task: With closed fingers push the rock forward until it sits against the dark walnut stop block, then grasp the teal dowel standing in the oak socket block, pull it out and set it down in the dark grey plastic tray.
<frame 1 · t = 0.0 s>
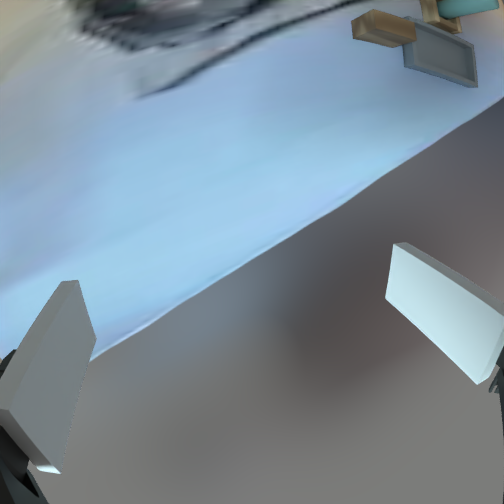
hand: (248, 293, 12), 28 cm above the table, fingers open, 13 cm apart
socket block: (435, 12, 33), on the table
tray: (437, 54, 36), on the table
stop block: (372, 34, 34), on the table
dowel: (461, 5, 27), in the socket block
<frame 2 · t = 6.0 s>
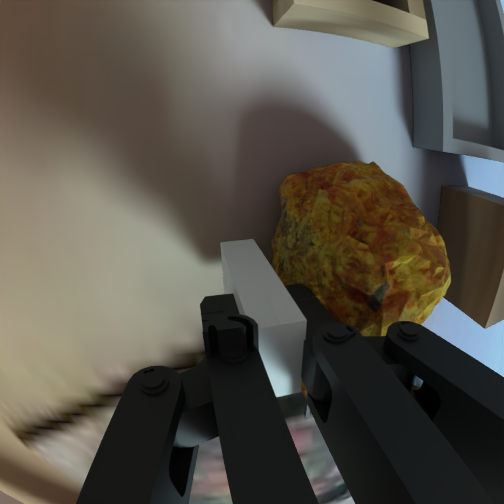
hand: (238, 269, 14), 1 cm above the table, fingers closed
tray: (452, 36, 13), on the table
rock: (324, 266, 17), on the table, touching gripper
stop block: (449, 236, 18), on the table
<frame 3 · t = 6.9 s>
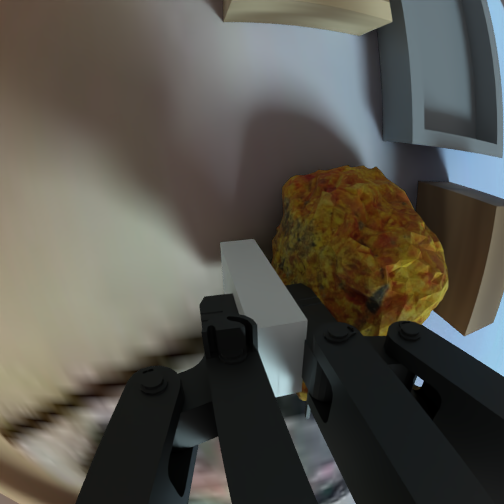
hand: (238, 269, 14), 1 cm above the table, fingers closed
tray: (428, 22, 12), on the table
rock: (322, 268, 17), on the table
stop block: (429, 235, 17), on the table
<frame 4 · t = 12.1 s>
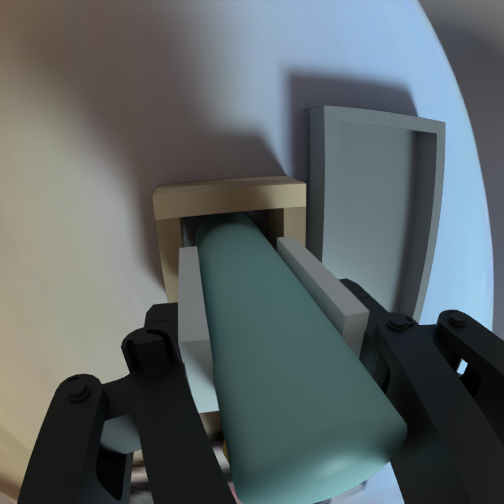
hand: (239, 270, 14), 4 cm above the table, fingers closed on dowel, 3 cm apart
socket block: (227, 241, 17), on the table
tray: (365, 241, 19), on the table
dowel: (253, 303, 11), in the socket block, touching gripper
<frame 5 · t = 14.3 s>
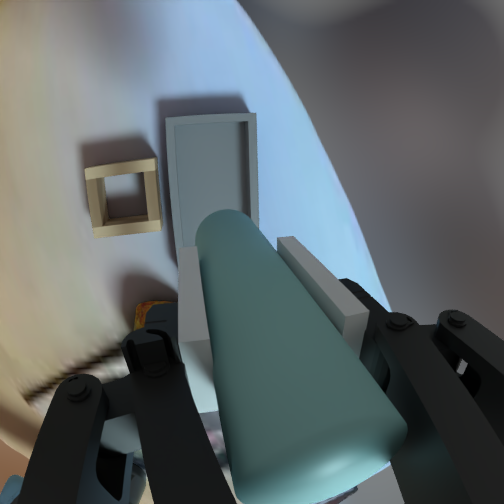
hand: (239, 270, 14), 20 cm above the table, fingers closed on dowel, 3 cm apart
socket block: (127, 194, 30), on the table
tray: (212, 194, 32), on the table
rock: (166, 332, 37), on the table
dowel: (252, 302, 11), point 23 cm above the table, touching gripper
when the fingers open (6 cm above the table, at t = 16.6 s): dowel drops 1 cm, resting on tray.
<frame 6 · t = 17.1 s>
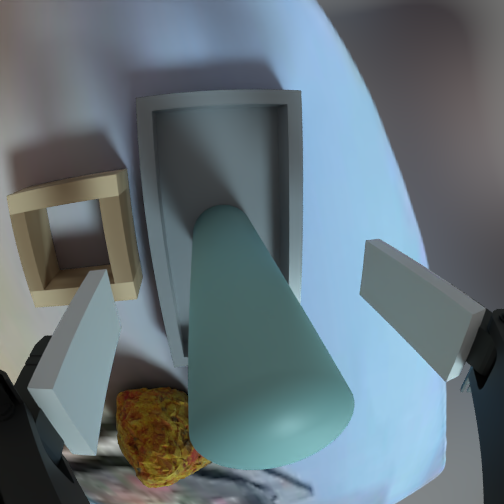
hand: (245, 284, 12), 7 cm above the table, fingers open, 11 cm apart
socket block: (82, 231, 17), on the table
tray: (223, 230, 19), on the table
rock: (163, 416, 25), on the table
dowel: (236, 286, 12), in the tray, point 8 cm above the table
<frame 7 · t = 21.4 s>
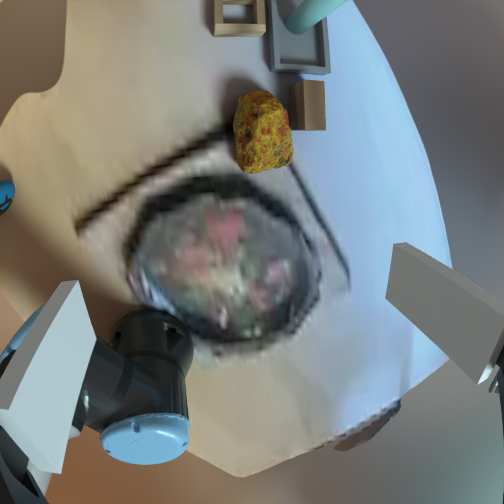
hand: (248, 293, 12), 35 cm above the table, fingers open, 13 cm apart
socket block: (236, 17, 35), on the table
tray: (295, 26, 37), on the table
rock: (255, 132, 43), on the table
stop block: (299, 108, 42), on the table
ornament: (6, 196, 37), on the table
dowel: (313, 9, 30), in the tray, point 8 cm above the table
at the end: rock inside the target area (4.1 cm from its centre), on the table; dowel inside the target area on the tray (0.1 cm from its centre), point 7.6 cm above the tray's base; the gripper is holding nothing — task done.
